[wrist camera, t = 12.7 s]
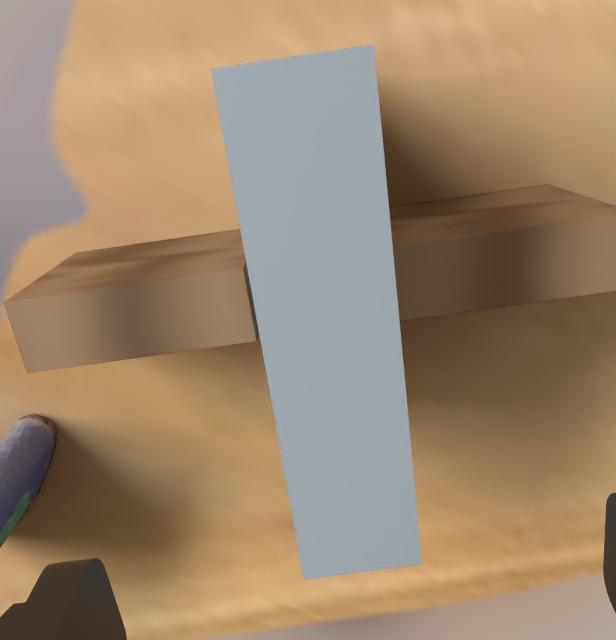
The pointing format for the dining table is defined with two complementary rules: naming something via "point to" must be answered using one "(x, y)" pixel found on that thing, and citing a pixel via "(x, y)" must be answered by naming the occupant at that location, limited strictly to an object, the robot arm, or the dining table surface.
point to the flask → (23, 468)
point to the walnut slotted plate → (236, 296)
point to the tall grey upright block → (325, 300)
